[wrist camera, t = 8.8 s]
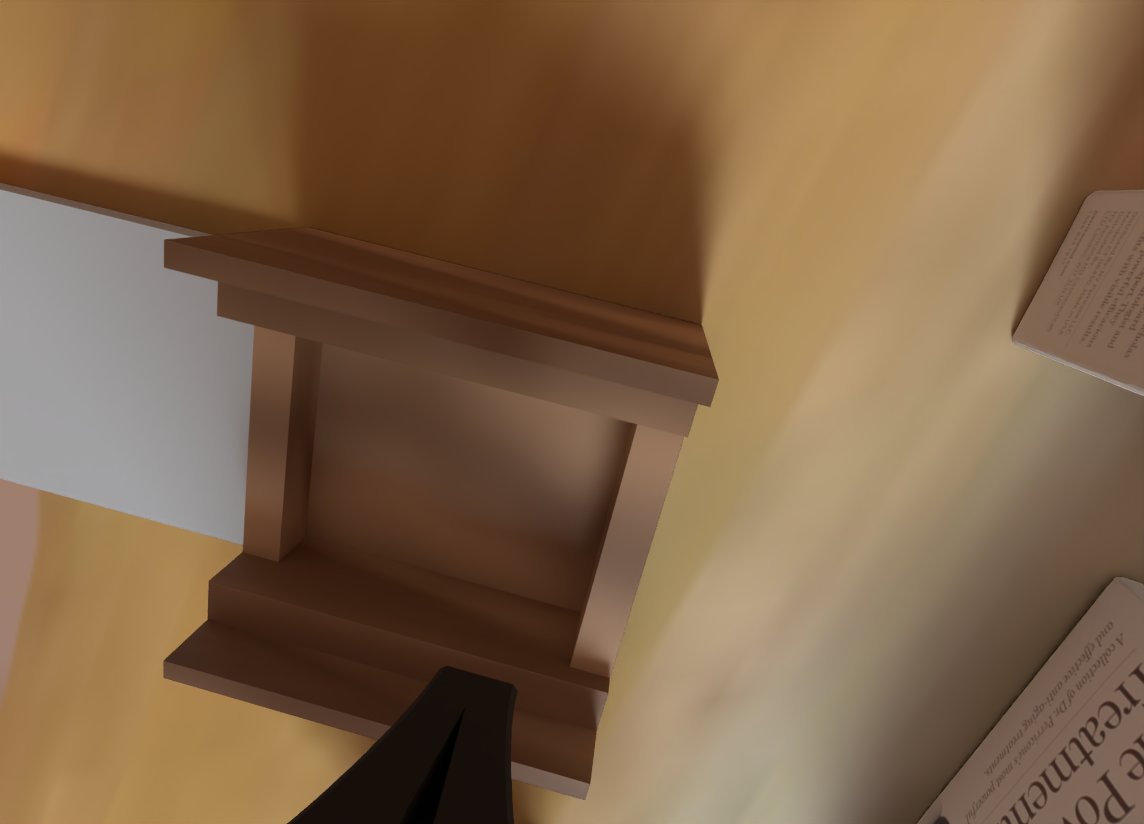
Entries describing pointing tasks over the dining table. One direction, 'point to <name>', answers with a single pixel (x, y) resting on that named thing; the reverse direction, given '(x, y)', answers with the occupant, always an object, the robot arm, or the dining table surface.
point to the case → (437, 487)
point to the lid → (119, 368)
